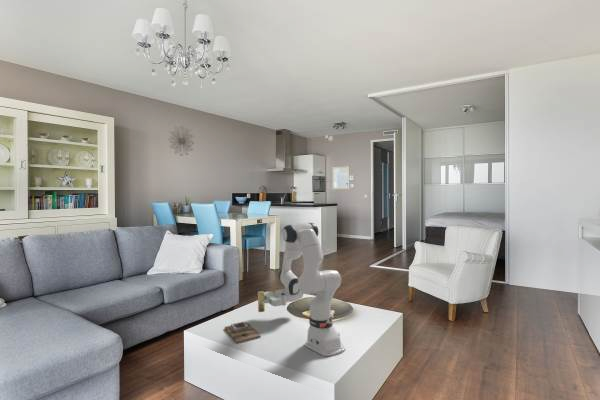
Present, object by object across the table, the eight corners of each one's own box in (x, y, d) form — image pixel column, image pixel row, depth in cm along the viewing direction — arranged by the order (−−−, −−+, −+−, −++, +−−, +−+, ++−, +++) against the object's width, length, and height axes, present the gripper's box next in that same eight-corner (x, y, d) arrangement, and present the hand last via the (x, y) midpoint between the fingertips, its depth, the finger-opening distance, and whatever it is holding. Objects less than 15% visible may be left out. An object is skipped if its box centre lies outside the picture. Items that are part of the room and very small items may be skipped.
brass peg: (265, 311, 211) (265, 292, 211) (259, 312, 209) (259, 293, 209) (263, 309, 214) (262, 290, 214) (257, 310, 212) (256, 291, 212)
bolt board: (260, 337, 191) (260, 331, 190) (236, 343, 184) (236, 337, 184) (246, 323, 210) (246, 318, 210) (224, 328, 203) (224, 323, 203)
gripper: (272, 288, 227) (253, 291, 220) (286, 296, 209) (266, 300, 202) (273, 297, 227) (253, 301, 220) (287, 306, 209) (266, 310, 202)
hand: (259, 300), depth 211 cm, fingers closed on brass peg, 4 cm apart
